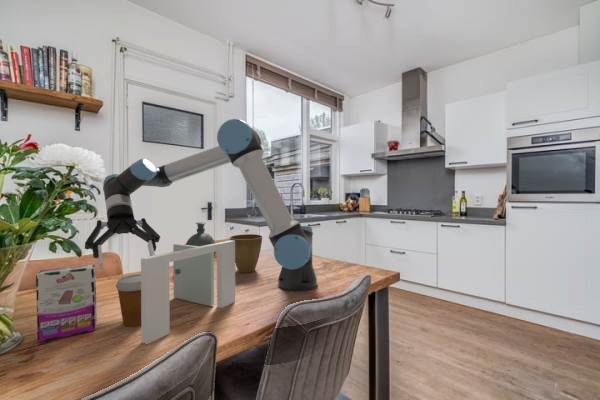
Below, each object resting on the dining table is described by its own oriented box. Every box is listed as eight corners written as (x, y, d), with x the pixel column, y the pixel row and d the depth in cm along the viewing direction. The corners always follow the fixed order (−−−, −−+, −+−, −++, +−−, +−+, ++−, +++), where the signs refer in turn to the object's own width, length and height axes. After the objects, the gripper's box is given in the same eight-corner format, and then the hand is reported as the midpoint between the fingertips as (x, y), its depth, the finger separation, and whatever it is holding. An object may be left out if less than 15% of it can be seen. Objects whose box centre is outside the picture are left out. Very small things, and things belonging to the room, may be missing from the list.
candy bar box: (97, 323, 75) (96, 263, 75) (95, 331, 71) (94, 267, 71) (41, 334, 69) (40, 269, 69) (36, 343, 65) (35, 273, 65)
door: (215, 304, 88) (215, 247, 88) (209, 307, 86) (209, 249, 85) (178, 295, 96) (178, 243, 95) (171, 298, 93) (171, 244, 93)
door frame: (230, 300, 92) (230, 240, 92) (235, 301, 91) (235, 240, 91) (141, 342, 66) (140, 258, 65) (146, 344, 65) (146, 259, 64)
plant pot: (232, 267, 135) (231, 234, 135) (262, 266, 137) (262, 233, 136) (227, 275, 120) (227, 239, 120) (262, 274, 122) (262, 238, 122)
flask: (222, 267, 135) (222, 222, 134) (187, 274, 123) (187, 224, 123) (212, 263, 143) (211, 220, 143) (178, 269, 131) (177, 222, 131)
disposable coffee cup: (127, 333, 70) (127, 285, 70) (109, 323, 75) (108, 279, 75) (163, 319, 78) (162, 276, 78) (144, 311, 83) (144, 271, 83)
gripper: (157, 216, 106) (169, 262, 94) (72, 220, 89) (75, 276, 78) (161, 202, 102) (174, 249, 90) (73, 203, 85) (76, 261, 74)
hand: (128, 262), depth 84 cm, fingers open, 13 cm apart
